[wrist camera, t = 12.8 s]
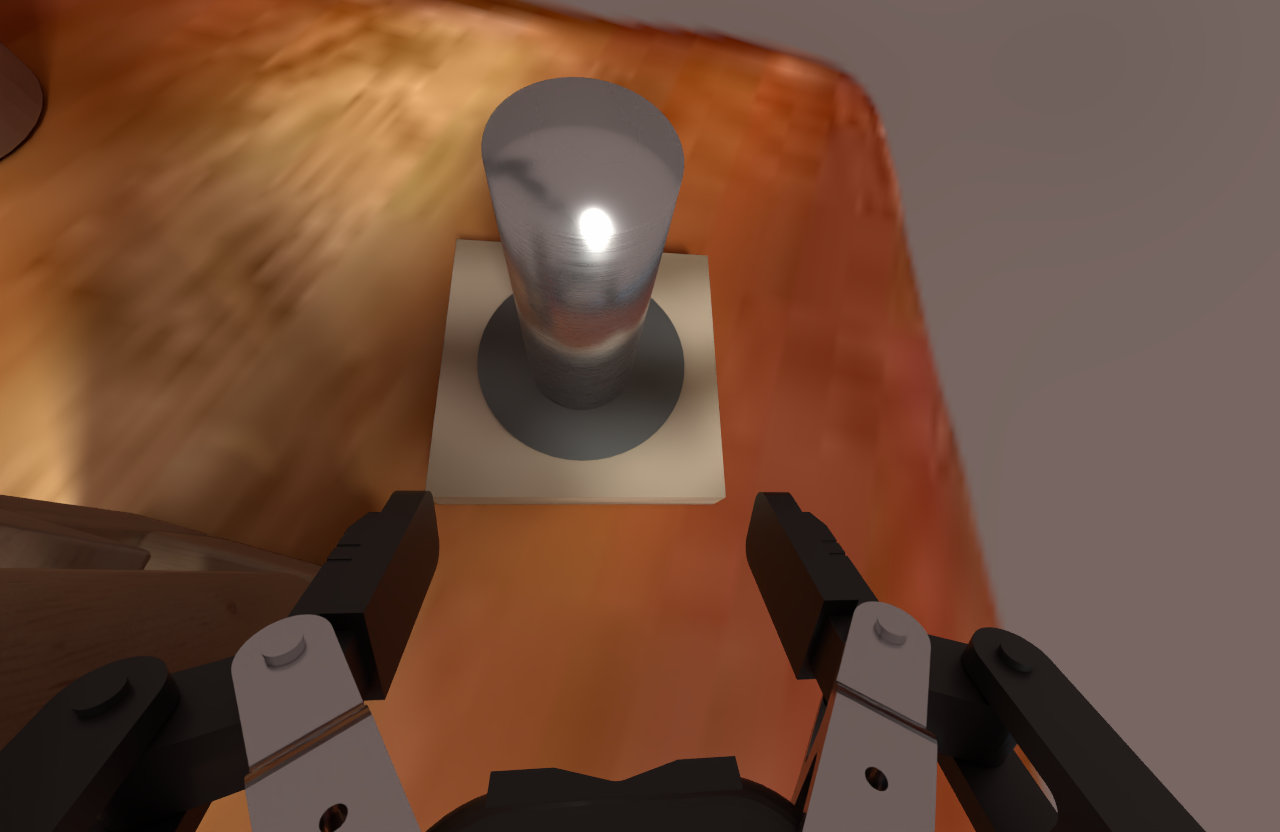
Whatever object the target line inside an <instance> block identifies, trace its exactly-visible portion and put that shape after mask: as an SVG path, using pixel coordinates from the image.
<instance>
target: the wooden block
mask: <svg viewBox="0 0 1280 832" xmlns="http://www.w3.org/2000/svg"><path fill="white" fill-rule="evenodd" d="M321 567H322V566H320V565H316V564H313V563H309V562H305V561H302V560H298V559H295V558H291V557H287V556H284V555H280V554H277V553H273V552H269V551H266V550H262V549H259V548H255V547H251V546H248V545H244V544H241V543H237V542H233V541H230V540H226V539H223V538H214V537H209V536H208V535H207V534H205V533H201V532H198V531H194V530H190V529H187V528H183V527H180V526H176V525H172V524H169V523H165V522H162V521H158V520H154V519H151V518H147V517H144V516H140V515H136V514H133V513H126V512H119V511H112V510H105V509H98V508H90V507H83V506H76V505H69V504H62V503H55V502H48V501H41V500H34V499H27V498H20V497H13V496H6V495H0V751H1V750H2V749H3V748H4V747H5V746H6V745H7V744H8V743H9V742H10V741H11V740H12V739H13V738H14V737H15V735H16V734H17V733H18V732H19V731H20V730H21V729H22V728H23V727H24V726H25V725H26V724H27V723H28V722H29V721H30V720H31V719H32V718H33V717H34V716H35V715H36V714H37V713H38V712H39V711H40V710H41V709H42V707H43V706H44V705H45V704H46V703H47V702H48V701H49V700H51V699H52V698H53V697H54V696H55V695H56V694H57V693H58V692H60V691H61V690H62V689H63V688H65V687H66V686H68V685H69V684H71V683H72V682H74V681H75V680H77V679H78V678H80V677H82V676H83V675H85V674H87V673H89V672H91V671H93V670H95V669H97V668H99V667H102V666H104V665H106V664H109V663H112V662H115V661H118V660H121V659H125V658H130V657H136V656H152V657H156V658H159V659H161V660H162V661H163V662H165V664H166V666H167V668H168V670H169V671H170V673H175V672H178V671H182V670H186V669H189V668H193V667H197V666H200V665H204V664H208V663H212V662H215V661H219V660H222V659H226V658H229V657H232V656H234V655H236V654H237V652H238V651H239V649H240V648H241V647H242V646H243V645H244V643H245V642H246V641H247V640H249V639H250V638H251V637H252V636H253V635H255V634H256V633H257V632H259V631H260V630H262V629H263V628H265V627H267V626H268V625H271V624H273V623H275V622H277V621H279V620H282V619H285V618H287V617H288V615H289V614H290V612H291V611H292V609H293V608H294V606H295V605H296V603H297V602H298V601H299V599H300V598H301V596H302V595H303V593H304V592H305V590H306V589H307V587H308V586H309V585H310V583H311V582H312V580H313V579H314V577H315V576H316V574H317V573H318V571H319V570H320V569H321Z"/></svg>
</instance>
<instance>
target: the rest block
mask: <svg viewBox="0 0 1280 832" xmlns="http://www.w3.org/2000/svg"><path fill="white" fill-rule="evenodd" d="M425 491H430V492H431V493H432V495H433V500H434V502H435V503H437V504H714V503H716V502H718V501H720V500H722V499H724V498H725V497H726V496H725V483H724V469H723V456H722V443H721V429H720V416H719V403H718V389H717V376H716V363H715V349H714V336H713V323H712V309H711V296H710V283H709V269H708V256H704V255H689V254H674V253H662V257H661V261H660V264H659V268H658V272H657V276H656V280H655V283H654V287H653V291H652V295H651V298H650V302H649V306H648V310H647V314H646V317H645V321H644V325H643V329H642V332H641V336H640V340H639V344H638V348H637V351H636V355H635V359H634V363H633V366H632V370H631V374H630V377H629V380H628V382H627V385H626V386H625V388H624V389H623V391H622V392H621V393H620V394H619V395H618V396H617V397H616V398H615V399H614V400H612V401H611V402H609V403H608V404H606V405H603V406H601V407H598V408H594V409H590V410H574V409H568V408H565V407H562V406H560V405H557V404H555V403H554V402H552V401H550V400H549V399H548V398H547V397H545V396H544V395H543V394H542V393H541V392H540V390H539V389H538V387H537V386H536V384H535V382H534V380H533V377H532V375H531V370H530V366H529V361H528V357H527V353H526V348H525V344H524V339H523V335H522V331H521V326H520V322H519V317H518V313H517V309H516V304H515V300H514V296H513V291H512V287H511V282H510V278H509V274H508V269H507V265H506V260H505V256H504V252H503V247H502V243H501V242H493V241H478V240H462V239H457V242H456V249H455V257H454V265H453V273H452V281H451V289H450V297H449V305H448V313H447V321H446V329H445V337H444V345H443V353H442V361H441V369H440V377H439V385H438V393H437V401H436V409H435V416H434V424H433V432H432V440H431V448H430V456H429V464H428V472H427V480H426V488H425Z"/></svg>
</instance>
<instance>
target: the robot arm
mask: <svg viewBox="0 0 1280 832" xmlns="http://www.w3.org/2000/svg"><path fill="white" fill-rule="evenodd" d="M42 99H43V93H42V90H41V87H40V84H39V81H38V79H37V78H36V77H35V75H34V74H33V73H32V71H31V70H30V69H29V68H28V67H27V66H26V65H25V64H24V63H23V62H22V61H21V60H19V59H18V58H17V57H16V56H15V55H14V54H13V53H12V52H11V51H10V50H9V49H8V48H7V47H5V46H4V45H3V44H2V43H1V42H0V158H1V157H3V156H4V155H6V154H8V153H9V152H11V151H12V150H13V149H14V148H15V147H16V146H17V145H18V144H19V143H21V142H22V141H23V140H24V139H25V138H26V137H27V135H28V134H29V133H30V131H31V130H32V128H33V127H34V126H35V124H36V123H37V120H38V118H39V115H40V112H41V110H42ZM836 541H837V540H836V539H835V537H834V536H833V534H832V533H831V532H830V530H829V529H828V527H827V526H826V525H825V524H824V523H823V522H821V521H820V520H819V519H818V518H816V517H815V516H814V515H812V514H811V513H810V512H802V511H801V509H800V508H799V506H798V505H797V503H796V502H795V500H794V498H793V497H792V496H791V494H790V493H788V492H759V493H758V494H757V496H756V498H755V502H754V507H753V511H752V516H751V520H750V525H749V529H748V534H747V538H746V556H747V561H748V564H749V566H750V569H751V571H752V574H753V576H754V578H755V581H756V583H757V585H758V588H759V590H760V593H761V595H762V597H763V600H764V602H765V604H766V607H767V609H768V612H769V614H770V616H771V619H772V621H773V624H774V626H775V628H776V631H777V633H778V635H779V638H780V640H781V643H782V645H783V647H784V650H785V652H786V655H787V657H788V659H789V662H790V664H791V666H792V669H793V671H794V674H795V676H796V678H797V680H801V679H816V680H817V682H818V684H819V686H820V689H821V691H822V693H823V694H822V697H821V700H820V703H819V707H818V710H817V714H816V717H815V721H814V725H813V728H812V732H811V735H810V739H809V743H808V746H807V750H806V753H805V757H804V761H803V764H802V768H801V771H800V775H799V778H798V781H797V784H796V787H795V790H794V793H793V796H792V799H791V802H790V801H789V800H787V799H786V798H784V797H783V796H781V795H780V794H778V793H777V792H775V791H773V790H771V789H769V788H767V787H765V786H764V785H762V784H759V783H756V782H754V781H751V780H748V779H745V778H741V777H740V774H739V770H738V766H737V762H736V758H735V756H729V757H713V758H697V759H682V760H676V761H673V762H671V763H668V764H665V765H663V766H660V767H657V768H655V769H652V770H649V771H647V772H644V773H641V774H639V775H636V776H634V777H631V778H628V779H626V780H622V781H609V780H605V779H601V778H596V777H592V776H588V775H583V774H579V773H575V772H570V771H566V770H562V769H557V768H540V769H525V770H509V771H493V772H491V774H490V781H489V787H488V793H487V794H485V795H483V796H480V797H477V798H475V799H473V800H471V801H469V802H467V803H465V804H463V805H461V806H459V807H458V808H456V809H455V810H453V811H452V812H450V813H449V814H447V815H446V816H444V817H443V818H442V819H440V820H439V821H438V822H437V823H435V824H434V825H433V826H432V827H430V828H429V829H428V830H427V831H426V832H935V803H936V775H937V761H938V763H939V765H940V767H941V769H942V771H943V772H944V774H945V776H946V778H947V780H948V782H949V783H950V785H951V787H952V789H953V791H954V792H955V794H956V796H957V798H958V800H959V802H960V803H961V805H962V807H963V809H964V811H965V812H966V814H967V816H968V818H969V820H970V822H971V823H972V825H973V827H974V829H975V831H976V832H1206V831H1205V830H1204V829H1203V828H1202V827H1201V826H1200V825H1199V824H1198V823H1197V822H1196V820H1195V819H1194V818H1193V817H1192V816H1191V815H1190V814H1189V813H1188V812H1187V811H1186V809H1184V807H1183V806H1182V805H1181V804H1180V803H1179V802H1178V801H1177V799H1176V798H1175V797H1174V796H1173V795H1172V794H1171V793H1170V792H1169V790H1168V789H1167V788H1166V787H1165V786H1164V785H1163V784H1162V783H1161V782H1160V781H1159V780H1158V778H1157V777H1156V776H1155V775H1154V774H1153V773H1152V772H1151V771H1150V769H1149V768H1148V767H1147V766H1146V765H1145V764H1144V763H1143V762H1142V761H1141V759H1139V757H1138V756H1137V755H1136V754H1135V753H1134V752H1133V751H1132V750H1131V748H1130V747H1129V746H1128V745H1127V744H1126V743H1125V742H1124V741H1123V740H1122V738H1121V737H1120V736H1119V735H1118V734H1117V733H1116V732H1115V731H1114V730H1113V728H1112V727H1111V726H1110V725H1109V724H1108V723H1107V722H1106V721H1105V720H1104V718H1103V717H1102V716H1101V715H1100V714H1099V713H1098V712H1097V711H1096V710H1095V709H1094V708H1093V706H1092V705H1091V704H1090V703H1089V702H1088V701H1087V700H1086V699H1085V698H1084V696H1083V695H1082V694H1081V693H1080V692H1079V691H1078V690H1077V689H1076V687H1075V686H1074V685H1073V684H1072V683H1071V682H1070V681H1069V680H1068V679H1067V678H1066V676H1065V675H1064V674H1063V673H1062V672H1061V671H1060V670H1059V669H1058V668H1057V667H1056V665H1055V664H1054V663H1053V662H1052V661H1051V660H1050V659H1049V658H1048V657H1047V656H1046V655H1045V654H1044V653H1043V652H1042V651H1041V650H1040V649H1038V648H1037V647H1035V646H1034V645H1033V644H1031V643H1030V642H1028V641H1026V640H1025V639H1023V638H1022V637H1020V636H1018V635H1016V634H1013V633H1011V632H1008V631H1005V630H1002V629H998V628H991V627H988V628H981V629H979V630H977V631H976V632H975V633H974V634H973V636H972V638H971V640H970V641H969V643H968V644H965V643H961V642H957V641H953V640H949V639H945V638H941V637H936V636H932V635H928V634H927V633H926V631H925V630H924V628H923V627H922V626H921V625H920V624H919V623H918V622H917V621H916V620H915V619H914V618H913V617H912V616H910V615H909V614H908V613H906V612H904V611H903V610H901V609H899V608H897V607H895V606H892V605H890V604H886V603H882V602H879V601H878V599H877V598H876V597H875V595H874V594H873V592H872V591H871V589H870V588H869V586H868V585H867V584H866V582H865V581H864V579H863V578H862V576H861V575H860V573H859V572H858V571H857V569H856V568H855V566H854V565H853V563H852V562H851V560H850V559H849V558H848V556H845V552H844V550H843V549H842V547H841V546H840V545H839V543H837V542H836ZM438 557H439V537H438V529H437V522H436V515H435V507H434V500H433V495H432V493H431V492H430V491H395V492H394V493H393V494H392V495H391V497H390V499H389V500H388V502H387V503H386V505H385V507H384V508H383V510H382V511H381V512H369V513H367V514H366V515H365V516H363V517H362V518H360V519H359V520H358V521H356V522H355V523H354V524H352V525H351V526H350V527H349V528H348V529H347V531H346V532H345V534H344V535H343V536H342V538H341V539H340V541H339V542H338V544H337V548H334V550H333V551H332V553H331V554H330V555H329V557H328V558H327V563H324V564H323V566H322V567H321V569H320V570H319V571H318V573H317V574H316V576H315V577H314V579H313V580H312V582H311V583H310V585H309V586H308V587H307V589H306V590H305V592H304V593H303V595H302V596H301V598H300V599H299V601H298V602H297V603H296V605H295V606H294V608H293V609H292V611H291V612H290V614H289V615H288V617H287V618H285V619H282V620H279V621H277V622H275V623H273V624H271V625H268V626H267V627H265V628H263V629H262V630H260V631H259V632H257V633H256V634H255V635H253V636H252V637H251V638H250V639H249V640H247V641H246V642H245V643H244V645H243V646H242V647H241V648H240V649H239V651H238V652H237V654H236V655H234V656H232V657H229V658H226V659H222V660H219V661H215V662H212V663H208V664H204V665H200V666H197V667H193V668H189V669H186V670H182V671H178V672H175V673H170V671H169V670H168V668H167V666H166V664H165V662H163V661H162V660H161V659H159V658H156V657H152V656H136V657H130V658H125V659H121V660H118V661H115V662H112V663H109V664H106V665H104V666H102V667H99V668H97V669H95V670H93V671H91V672H89V673H87V674H85V675H83V676H82V677H80V678H78V679H77V680H75V681H74V682H72V683H71V684H69V685H68V686H66V687H65V688H63V689H62V690H61V691H60V692H58V693H57V694H56V695H55V696H54V697H53V698H52V699H51V700H49V701H48V702H47V703H46V704H45V705H44V706H43V707H42V709H41V710H40V711H39V712H38V713H37V714H36V715H35V716H34V717H33V718H32V719H31V720H30V721H29V722H28V723H27V724H26V725H25V726H24V727H23V728H22V729H21V730H20V731H19V732H18V733H17V734H16V735H15V737H14V738H13V739H12V740H11V741H10V742H9V743H8V744H7V745H6V746H5V747H4V748H3V749H2V750H1V751H0V832H195V831H196V830H197V828H198V826H199V824H200V822H201V820H202V819H203V817H204V815H205V813H206V811H207V810H208V808H209V806H210V804H211V802H212V801H214V800H217V799H220V798H223V797H225V796H228V795H231V794H234V793H236V792H239V791H242V790H245V792H246V798H247V804H248V810H249V815H250V821H251V827H252V832H421V831H420V828H419V826H418V823H417V821H416V819H415V816H414V814H413V811H412V809H411V807H410V804H409V802H408V800H407V797H406V795H405V792H404V790H403V788H402V785H401V783H400V780H399V778H398V776H397V773H396V771H395V768H394V766H393V764H392V761H391V759H390V756H389V754H388V752H387V749H386V747H385V745H384V742H383V740H382V737H381V735H380V733H379V730H378V728H377V725H376V723H375V721H374V718H373V716H372V714H371V711H370V709H369V707H368V706H367V705H364V703H363V702H364V701H366V700H385V698H386V696H387V693H388V690H389V688H390V685H391V683H392V680H393V678H394V675H395V673H396V670H397V667H398V665H399V662H400V660H401V657H402V655H403V652H404V649H405V647H406V644H407V642H408V639H409V637H410V634H411V631H412V629H413V626H414V624H415V621H416V619H417V616H418V613H419V611H420V608H421V606H422V603H423V601H424V598H425V595H426V593H427V590H428V588H429V585H430V583H431V580H432V577H433V575H434V572H435V570H436V567H437V563H438ZM1017 744H1018V745H1019V747H1020V748H1021V749H1022V751H1023V752H1024V754H1025V755H1026V756H1027V758H1028V759H1029V761H1030V762H1031V763H1032V765H1033V766H1034V768H1035V769H1036V771H1037V772H1038V773H1039V775H1040V776H1041V778H1042V779H1043V780H1044V782H1045V783H1046V785H1047V786H1048V788H1049V789H1050V791H1051V793H1052V795H1053V797H1054V799H1055V802H1056V805H1057V810H1058V813H1057V812H1056V810H1055V809H1054V807H1053V806H1052V805H1051V803H1050V802H1049V800H1048V799H1047V797H1046V796H1045V795H1044V793H1043V792H1042V790H1041V789H1040V787H1039V786H1038V784H1037V783H1036V782H1035V780H1034V779H1033V777H1032V776H1031V774H1030V773H1029V771H1028V770H1027V769H1026V767H1025V766H1024V764H1023V763H1022V761H1021V760H1020V759H1019V757H1018V756H1017V754H1016V753H1015V751H1014V750H1013V749H1014V748H1015V746H1016V745H1017Z"/></svg>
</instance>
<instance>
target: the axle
mask: <svg viewBox="0 0 1280 832" xmlns="http://www.w3.org/2000/svg"><path fill="white" fill-rule="evenodd" d="M481 145H482V159H483V163H484V168H485V172H486V177H487V181H488V186H489V190H490V194H491V199H492V203H493V208H494V212H495V216H496V221H497V225H498V230H499V234H500V238H501V243H502V247H503V252H504V256H505V260H506V265H507V269H508V274H509V278H510V282H511V287H512V291H513V296H514V300H515V304H516V309H517V313H518V317H519V322H520V326H521V331H522V335H523V339H524V344H525V348H526V353H527V357H528V361H529V366H530V370H531V375H532V377H533V380H534V382H535V384H536V386H537V387H538V389H539V390H540V392H541V393H542V394H543V395H544V396H545V397H547V398H548V399H549V400H550V401H552V402H554V403H555V404H557V405H560V406H562V407H565V408H568V409H574V410H590V409H594V408H598V407H601V406H603V405H606V404H608V403H609V402H611V401H612V400H614V399H615V398H616V397H617V396H618V395H619V394H620V393H621V392H622V391H623V389H624V388H625V386H626V385H627V382H628V380H629V377H630V374H631V370H632V366H633V363H634V359H635V355H636V351H637V348H638V344H639V340H640V336H641V332H642V329H643V325H644V321H645V317H646V314H647V310H648V306H649V302H650V298H651V295H652V291H653V287H654V283H655V280H656V276H657V272H658V268H659V264H660V261H661V257H662V253H663V249H664V246H665V242H666V238H667V234H668V230H669V227H670V223H671V219H672V215H673V212H674V208H675V204H676V200H677V197H678V193H679V189H680V185H681V181H682V178H683V172H684V154H683V149H682V145H681V142H680V140H679V137H678V135H677V133H676V131H675V129H674V127H673V126H672V125H671V123H670V122H669V120H668V119H667V118H666V117H665V116H664V115H663V114H662V112H661V111H660V110H659V109H657V108H656V107H655V106H654V105H653V104H652V103H650V102H649V101H647V100H646V99H645V98H643V97H642V96H640V95H638V94H636V93H635V92H633V91H631V90H629V89H626V88H624V87H622V86H619V85H616V84H613V83H610V82H606V81H602V80H597V79H591V78H582V77H566V78H555V79H549V80H545V81H541V82H537V83H534V84H532V85H529V86H527V87H524V88H522V89H520V90H519V91H517V92H515V93H513V94H512V95H511V96H509V97H508V98H507V99H505V100H504V101H503V102H502V103H501V104H500V105H499V106H498V107H497V108H496V110H495V111H494V112H493V114H492V115H491V116H490V118H489V120H488V122H487V124H486V127H485V130H484V133H483V138H482V144H481Z"/></svg>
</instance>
